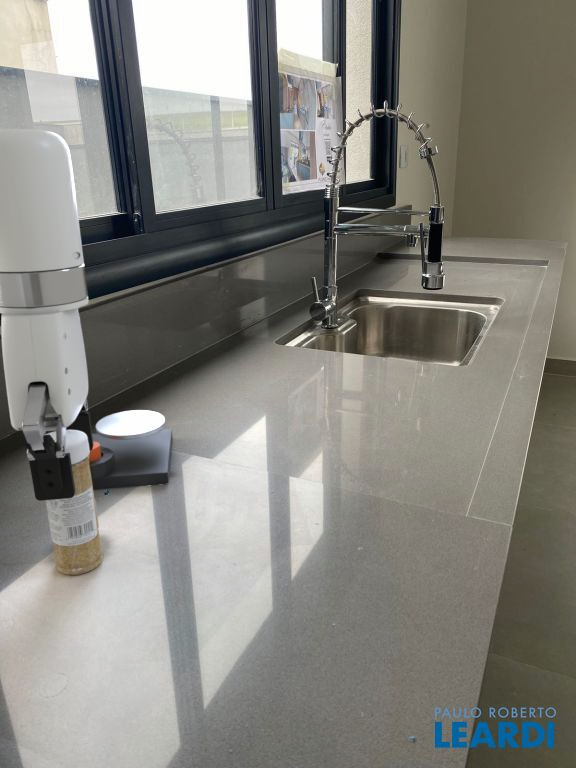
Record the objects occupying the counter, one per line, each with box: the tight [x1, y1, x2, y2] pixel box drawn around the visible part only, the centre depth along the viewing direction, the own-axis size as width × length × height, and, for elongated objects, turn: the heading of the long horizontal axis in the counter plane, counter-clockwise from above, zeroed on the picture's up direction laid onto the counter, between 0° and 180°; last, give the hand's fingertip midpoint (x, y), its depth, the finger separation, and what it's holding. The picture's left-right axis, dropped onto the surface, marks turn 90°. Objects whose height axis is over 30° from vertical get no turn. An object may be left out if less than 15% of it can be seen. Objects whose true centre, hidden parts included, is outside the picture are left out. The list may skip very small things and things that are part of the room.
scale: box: [89, 428, 174, 491], centre depth 80 cm, size 12×14×4 cm
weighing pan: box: [95, 409, 166, 440], centre depth 81 cm, size 9×9×2 cm
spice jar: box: [45, 430, 104, 576], centre depth 57 cm, size 5×5×13 cm
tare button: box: [89, 441, 101, 462], centre depth 74 cm, size 3×3×2 cm
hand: (67, 472), depth 56 cm, fingers open, 9 cm apart
